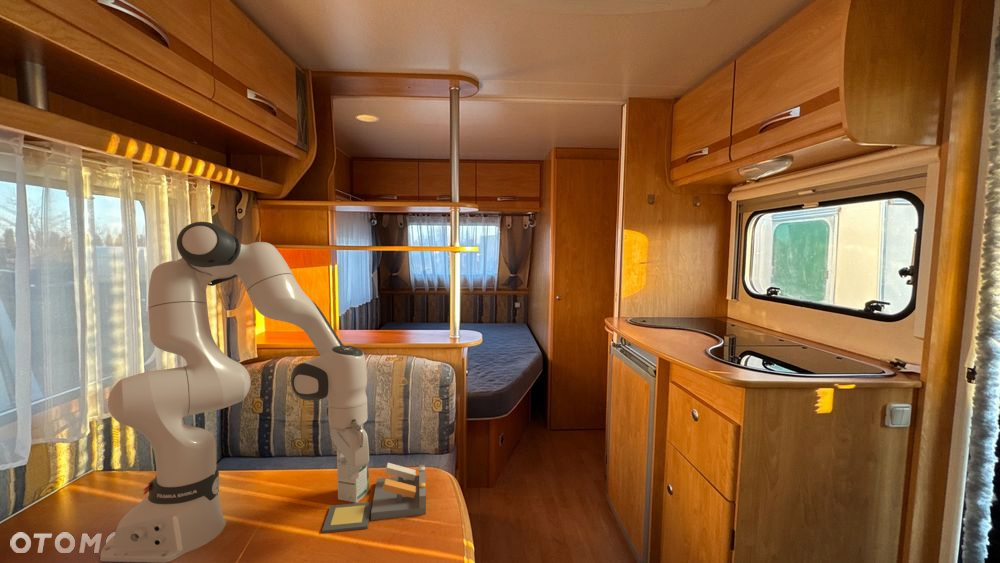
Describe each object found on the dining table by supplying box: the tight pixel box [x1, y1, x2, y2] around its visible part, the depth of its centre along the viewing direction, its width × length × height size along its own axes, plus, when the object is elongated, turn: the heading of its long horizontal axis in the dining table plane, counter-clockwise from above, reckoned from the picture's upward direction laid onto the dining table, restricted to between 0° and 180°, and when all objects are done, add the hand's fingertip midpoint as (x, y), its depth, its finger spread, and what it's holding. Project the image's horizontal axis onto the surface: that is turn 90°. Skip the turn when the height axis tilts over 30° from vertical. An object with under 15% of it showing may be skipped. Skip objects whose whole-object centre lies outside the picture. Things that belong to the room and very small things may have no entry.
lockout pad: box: [321, 501, 373, 534], centre depth 105 cm, size 10×10×1 cm
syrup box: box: [336, 446, 370, 504], centre depth 114 cm, size 6×6×14 cm
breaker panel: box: [370, 464, 427, 522], centre depth 113 cm, size 13×16×6 cm
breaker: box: [384, 462, 417, 481], centre depth 118 cm, size 8×3×2 cm, turn 101°
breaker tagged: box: [383, 479, 416, 498], centre depth 110 cm, size 8×3×2 cm, turn 101°
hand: (349, 470), depth 105 cm, fingers open, 7 cm apart
